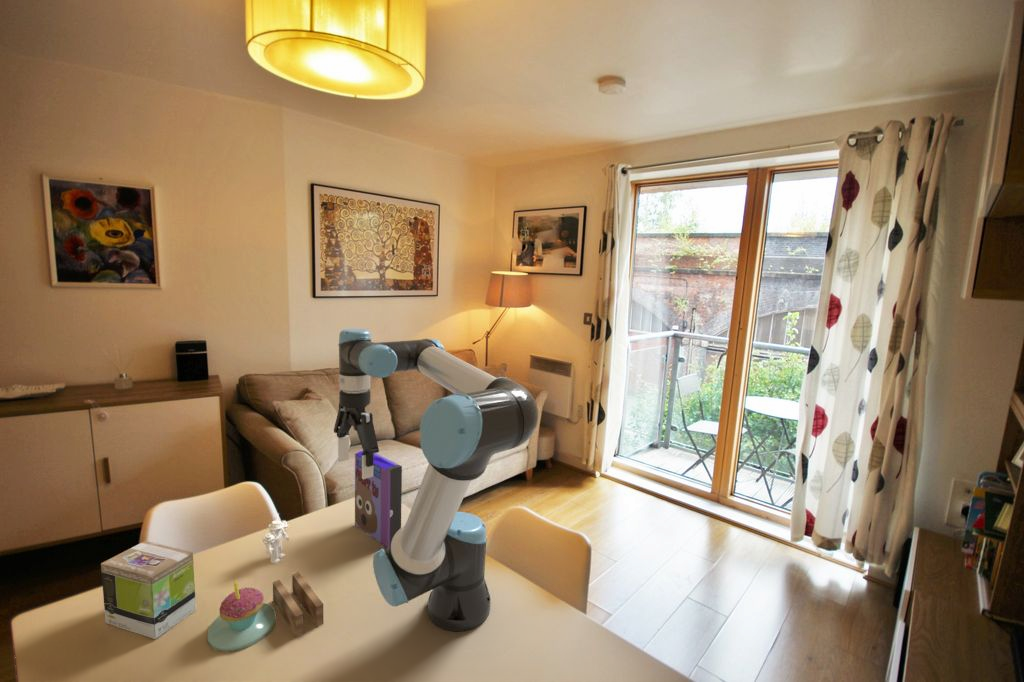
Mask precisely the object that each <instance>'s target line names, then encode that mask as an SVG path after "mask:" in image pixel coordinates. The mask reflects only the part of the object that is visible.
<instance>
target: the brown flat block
mask: <svg viewBox="0 0 1024 682" xmlns="http://www.w3.org/2000/svg"><path fill="white" fill-rule="evenodd" d="M291 580H292V581H291V582H292V586H291V587H292V588H291V589H292V594H293V595H294V596H295V598H296V600H297V601H298V602H299V604H300V605H301V606H302V608H303V609H304V611H305V612H306V614H307V615H308V617H309V618H310V619H311V621H312V622H313V623H314V625H315V626H316V627H317V628H318V627H319V626H322V625H323V624H324V602H323V601H322V600H321V598H319V596H318V595H317V594H316V592H315V591H314V590H313V588H312V587H311V586H310V584H309V583H308V582H307V581H306V580H305V578H304V576H303V575H301V573H300V572H299V571H297V572H295V573H292V574H291Z"/></svg>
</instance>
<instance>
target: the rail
mask: <svg viewBox="0 0 1024 682" xmlns="http://www.w3.org/2000/svg"><path fill="white" fill-rule="evenodd" d="M272 602H273V603H274V605H275V606H276V608H277V610H278V611H279V613H280V614H281V615H282V618H283V619H284V621H285V622H286V624H287V625H288V627H289V628H290V629H291V632H292V633H293V634H294V636H295V638H297V637H300V636H301V635H304V613H303V611H302V610H301V609H300V607H299V606H298V604H297V603H296V601H295V599H294V598H293V597H292V596H291V594H290V593H289V591H288V589H286V587H285V585H284V584H283V583H282V581H281V580H280V579H277V580H274V581H272Z"/></svg>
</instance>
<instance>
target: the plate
mask: <svg viewBox="0 0 1024 682" xmlns="http://www.w3.org/2000/svg"><path fill="white" fill-rule="evenodd" d="M275 623H276V610H275V609H274V607H273V606H271V605H270V604H268V603H265V602H263V606H262V607H261V608H260V610H259V611H258V612H257V615H256V618H255V621H254V623H253V624H252V625H251V626H250V627H248V628H246V629H244V630H240V631H235V630H232V629H231V628H230V625H229V623H228V622H227V621H225V620H223V619H222V618H221V617H220V615H219V616H217V617H216V618H215V620H213V622H212V623H211V624H210V626H209V627H208V630H207V642H208V645H209V647H211V649H214V650H215V651H218V652H234V651H235V652H236V651H240V650H244V649H246V648H249V647H250V646H253V645H254V644H257V643H259V641H261V640H263V639H264V638H265V637H266V636H268V634H269V633H270V632H271V631H272V630H273V627H274V626H275Z"/></svg>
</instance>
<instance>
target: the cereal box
mask: <svg viewBox="0 0 1024 682" xmlns="http://www.w3.org/2000/svg"><path fill="white" fill-rule="evenodd" d="M363 452H364V451H363V450H361V451H359V452H356V453H354V526H355V527H357V528H358V529H360V530H361V531H363V533H366V534H367V535H368V536H370V537H371V538H372V539H374V540H375V541H377V542H378V543H379V544H381V545H383V546H384V547H385V548H387V547H389V546H390V544H391V542H392V539H393V537H394V535H395V534H396V532H397V531H398V530H399V529H400V528H402V497H403V496H402V492H403V491H402V489H403V487H402V484H403V482H402V481H403V466H402V465H400V464H399V463H396V462H395V461H392V460H390V459H389V458H387V457H384V456H382V455H380V454H378V453H374V454H373V477H370V478H366V479H362V453H363Z"/></svg>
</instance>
